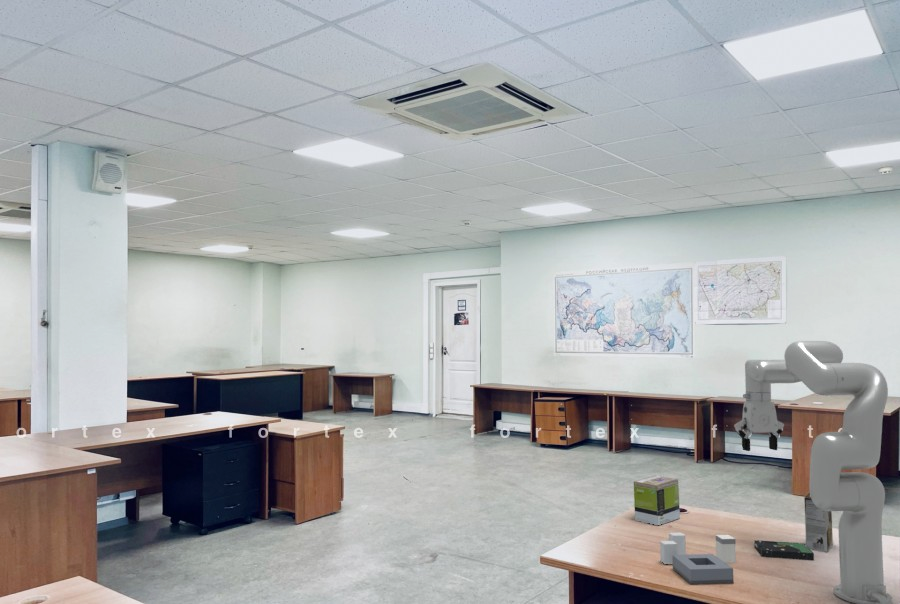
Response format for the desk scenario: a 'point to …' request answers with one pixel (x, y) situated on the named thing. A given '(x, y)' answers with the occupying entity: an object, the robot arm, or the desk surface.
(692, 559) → the holder
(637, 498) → the tea box
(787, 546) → the disk drive
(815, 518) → the coffee box
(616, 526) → the desk surface
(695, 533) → the desk surface
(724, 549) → the block
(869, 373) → the robot arm
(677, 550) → the pale grey post pair
